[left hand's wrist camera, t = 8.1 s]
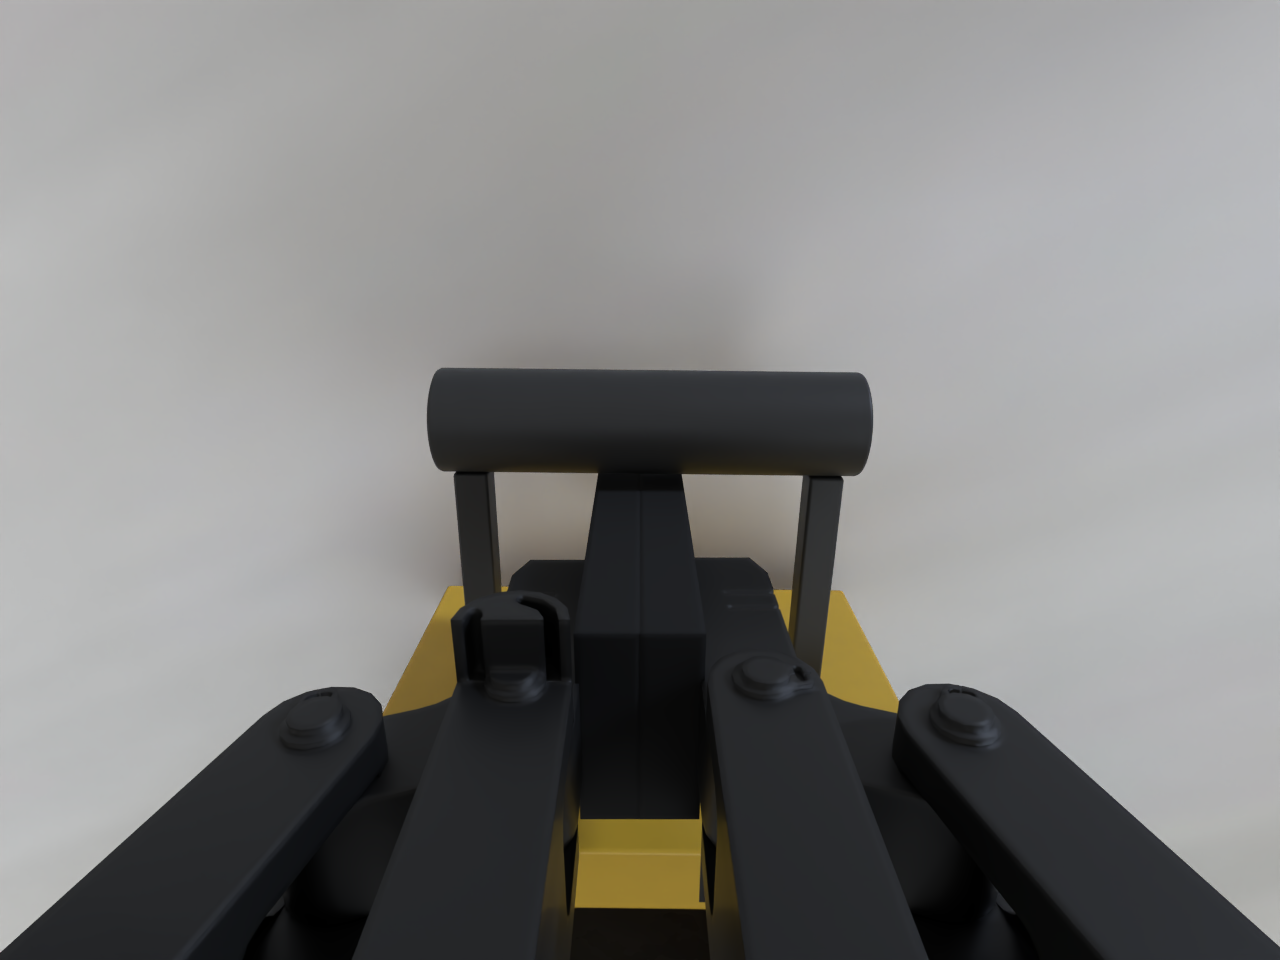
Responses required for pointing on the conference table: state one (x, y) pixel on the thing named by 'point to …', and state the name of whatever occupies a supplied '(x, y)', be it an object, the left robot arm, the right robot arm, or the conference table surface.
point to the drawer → (652, 444)
